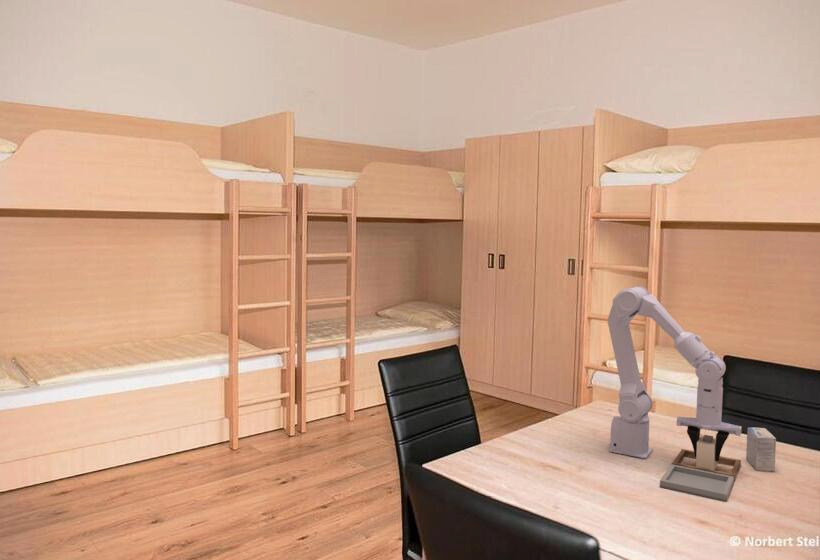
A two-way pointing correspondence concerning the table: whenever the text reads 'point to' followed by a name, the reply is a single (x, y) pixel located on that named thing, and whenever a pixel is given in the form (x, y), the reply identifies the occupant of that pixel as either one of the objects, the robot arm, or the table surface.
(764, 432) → the medicine box
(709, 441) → the plug block
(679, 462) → the frame
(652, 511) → the table surface
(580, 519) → the table surface
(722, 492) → the lower tray
